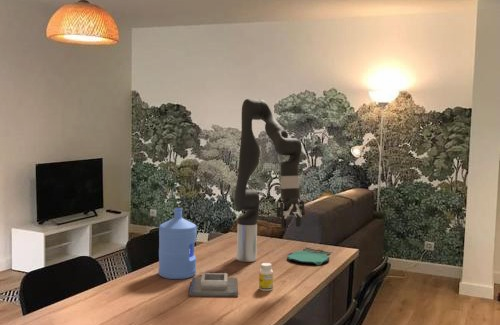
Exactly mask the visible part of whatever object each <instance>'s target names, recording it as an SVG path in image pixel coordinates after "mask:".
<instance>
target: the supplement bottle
mask: <svg viewBox="0 0 500 325" xmlns="http://www.w3.org/2000/svg"><path fill="white" fill-rule="evenodd" d="M260 266H261V267H260V269H259V271H258V272H259V273H258V274H259V275H258V276H259V278H258V281H259V282H258V284H259V285H258V288H259V290H260V291H263V292H269V291H272V290H273V288H274V270H273V269H272V268H273V267H272V263H270V262H263V263H261V265H260Z"/></svg>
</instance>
